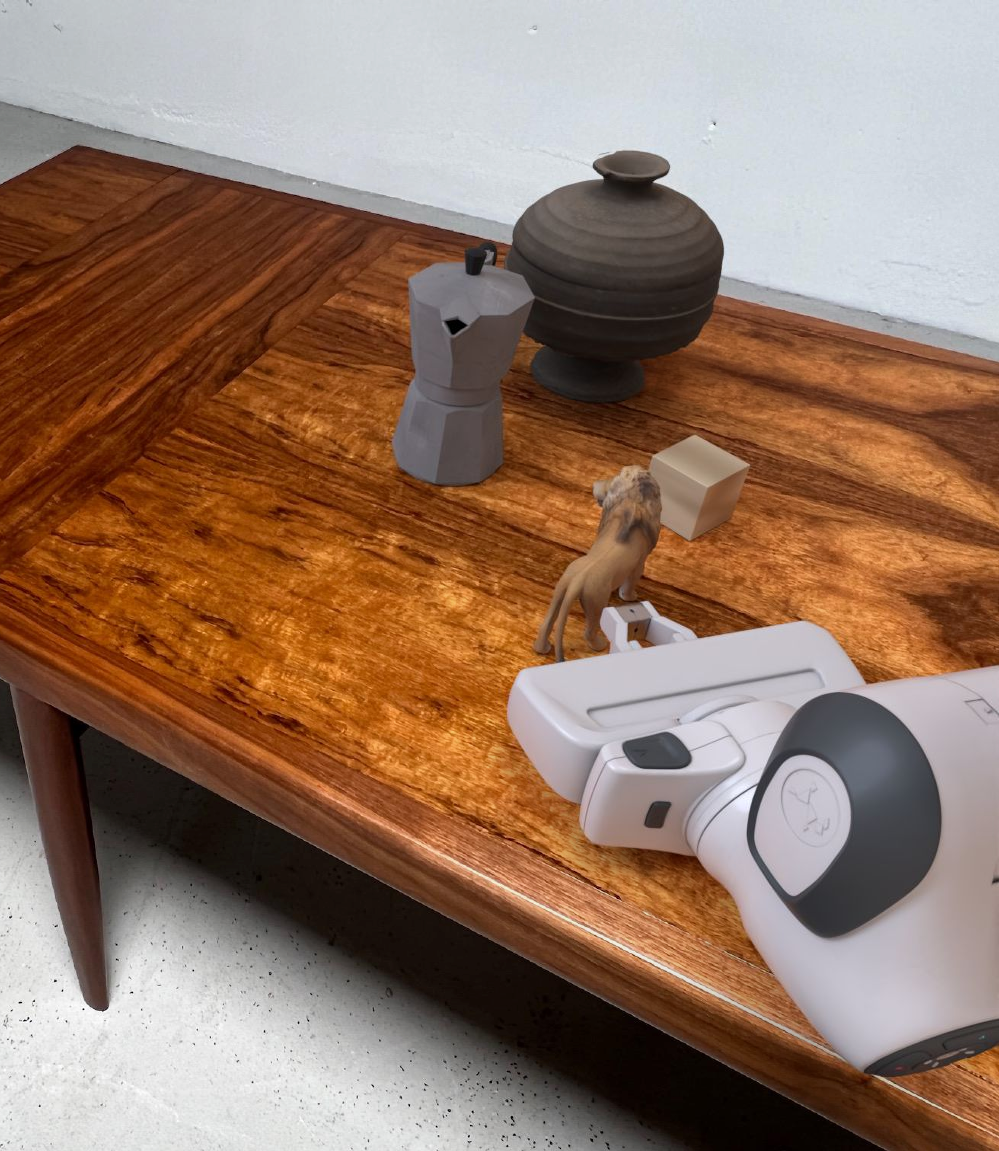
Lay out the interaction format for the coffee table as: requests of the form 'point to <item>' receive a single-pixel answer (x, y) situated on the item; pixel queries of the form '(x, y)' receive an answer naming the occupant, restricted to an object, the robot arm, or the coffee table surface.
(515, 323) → the coffeepot
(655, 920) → the coffee table surface
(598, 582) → the lion figurine
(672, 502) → the beige block
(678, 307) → the pot
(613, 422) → the coffee table surface
